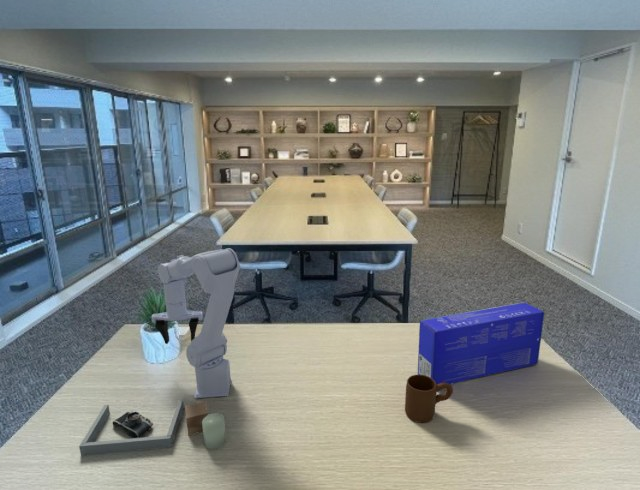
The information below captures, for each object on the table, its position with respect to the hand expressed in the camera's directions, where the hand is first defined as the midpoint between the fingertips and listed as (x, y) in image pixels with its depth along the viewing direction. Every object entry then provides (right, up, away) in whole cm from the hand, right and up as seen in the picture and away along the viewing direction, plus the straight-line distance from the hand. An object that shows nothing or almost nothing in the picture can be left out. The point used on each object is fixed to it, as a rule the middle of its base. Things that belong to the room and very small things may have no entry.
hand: (180, 341), depth 123 cm
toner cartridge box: (+92, -9, +1) cm, 92 cm away
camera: (-4, -17, -23) cm, 28 cm away
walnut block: (+12, -16, -22) cm, 30 cm away
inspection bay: (-3, -16, -23) cm, 28 cm away
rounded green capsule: (+18, -17, -27) cm, 37 cm away
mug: (+71, -15, -18) cm, 75 cm away
